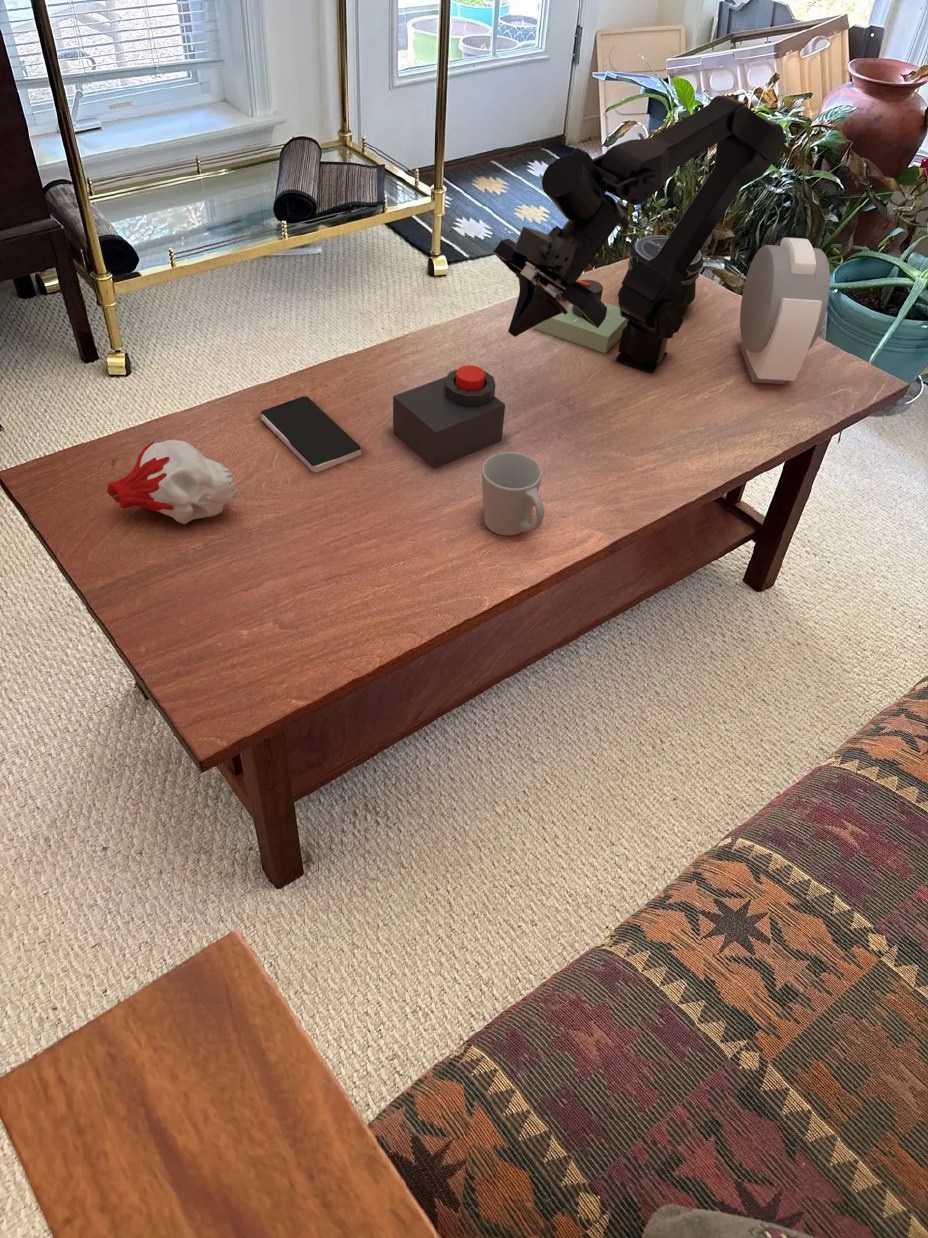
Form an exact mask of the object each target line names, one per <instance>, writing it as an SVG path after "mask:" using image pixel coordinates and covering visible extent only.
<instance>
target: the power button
mask: <svg viewBox="0 0 928 1238" xmlns="http://www.w3.org/2000/svg"><path fill="white" fill-rule="evenodd" d="M456 370H457V371H456V386H457V387H458V388H460V389H463V390H466V391H477V390H480V389H482V388H483V387H484V383H485V372H484V371H485V370H484V369H482V367H480V366H477V365H469V364H468V365H467V364H466V365H462V366H460V367H458V368H457V369H456Z"/></svg>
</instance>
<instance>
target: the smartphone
mask: <svg viewBox="0 0 928 1238" xmlns="http://www.w3.org/2000/svg"><path fill="white" fill-rule="evenodd" d="M259 415H260V420H261V421H262V423H264V424H265V425H266V426H267V427H268V428H269V430H271V432H272V433H273V434H274V435H275V436H277V437H278V438H279V439H280V440H281V441H282V442H283V444H285V446H287V448H289V450H290V451H291V452H292V453H293V454H294V455H295V456H296V457H297V458H298V459H300V460H301V462H302V463H303V464H304V465H305V466H306V467H307V468H308V469H309V470H310V471H311V472H312V473H320V472H322V471H324V470H327V469H329V468H331V467H334V466H336V465H340V464H342V463H345V462H347V461H350V460H352V459H354V458H357V457H359V456H361V455H362V448H361V445H359V443H357V442H356V441H355V440H354V439H353V438H352V437H351V436H350V435H349V434H348V433H346V431H344V429H343V428H342V427H340V426H339V424H337V423H336V422H335V421H334V420H333V419H332V418H331V417H329V415H328V414H327V413H326V412H325V411H323V410H322V409H321V408H320V407H319V405H317V404H316V403H315V402H314V401H313V400H312V399H311V398H310V397H308V396H305V395H302V396H300V397H297V398H295V399H292V400H288V401H285V402H282V403H280V404H277V405H274V406H271V407H269V408H265V409H263V410H261V411H260V414H259Z"/></svg>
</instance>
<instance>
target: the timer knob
mask: <svg viewBox="0 0 928 1238" xmlns="http://www.w3.org/2000/svg"><path fill="white" fill-rule="evenodd" d="M576 282H578V283H579V284H581V285H583V286H584V287H586V288H587V289H589V290H590V291H592V292H594V294H595V295H596V296H597V297H598V298H599V299H600V300H601V301H602V296H603V289H604V286H603V285H602V284H601V282H598V281H596V280H593V279H581V280H580V279H578V280H577V281H576ZM572 312H573V313H574V314H575V315H576V316H578V317H581V318H582V312H581V310H580V309H578V308H577V307H575V306H574V305H573V307H572Z"/></svg>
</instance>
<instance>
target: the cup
mask: <svg viewBox="0 0 928 1238" xmlns="http://www.w3.org/2000/svg"><path fill="white" fill-rule="evenodd" d="M542 479H543V469H542V467H541V465H540V464H539V462H537V460H535V459H534V458H532V457H531V456H529V455H527V454H524V453H520V452H514V451H505V452H499V453H495V454H492V455H490V456H489V457H488V458H487V459H486V460H485V461H484V462H483V464H482V466H481V489H482V490H481V491H482V504H483V505H482V506H483V518H484V524H485V526H486V527H487V529H489V530H490V531H492V533H495V534H497V535H502V536H510V537H511V536H515V535H518V534H521V533H523V532H524V533H529V532H530V533H531V532H534V531H535V530H537V529H539V528H540V526H541V525H542V524H543V522H544V517H545V507H544V506H545V505H544V502H543V500H542V498H541V496H540V495H539V490H540V486H541V483H542ZM534 508H535V513H536V517H535V522H534V523H530V522H529V521H530V520H531V519H530V518H531V515H532V513H533V509H534Z"/></svg>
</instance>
